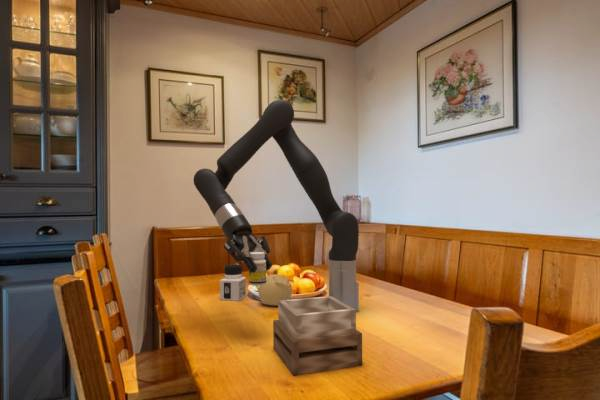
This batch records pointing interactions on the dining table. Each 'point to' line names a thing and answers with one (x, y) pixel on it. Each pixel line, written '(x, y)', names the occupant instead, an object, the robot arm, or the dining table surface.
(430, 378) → the dining table surface
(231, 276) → the container
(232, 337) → the dining table surface
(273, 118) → the robot arm
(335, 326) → the crate stack
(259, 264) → the supplement bottle
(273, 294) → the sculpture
